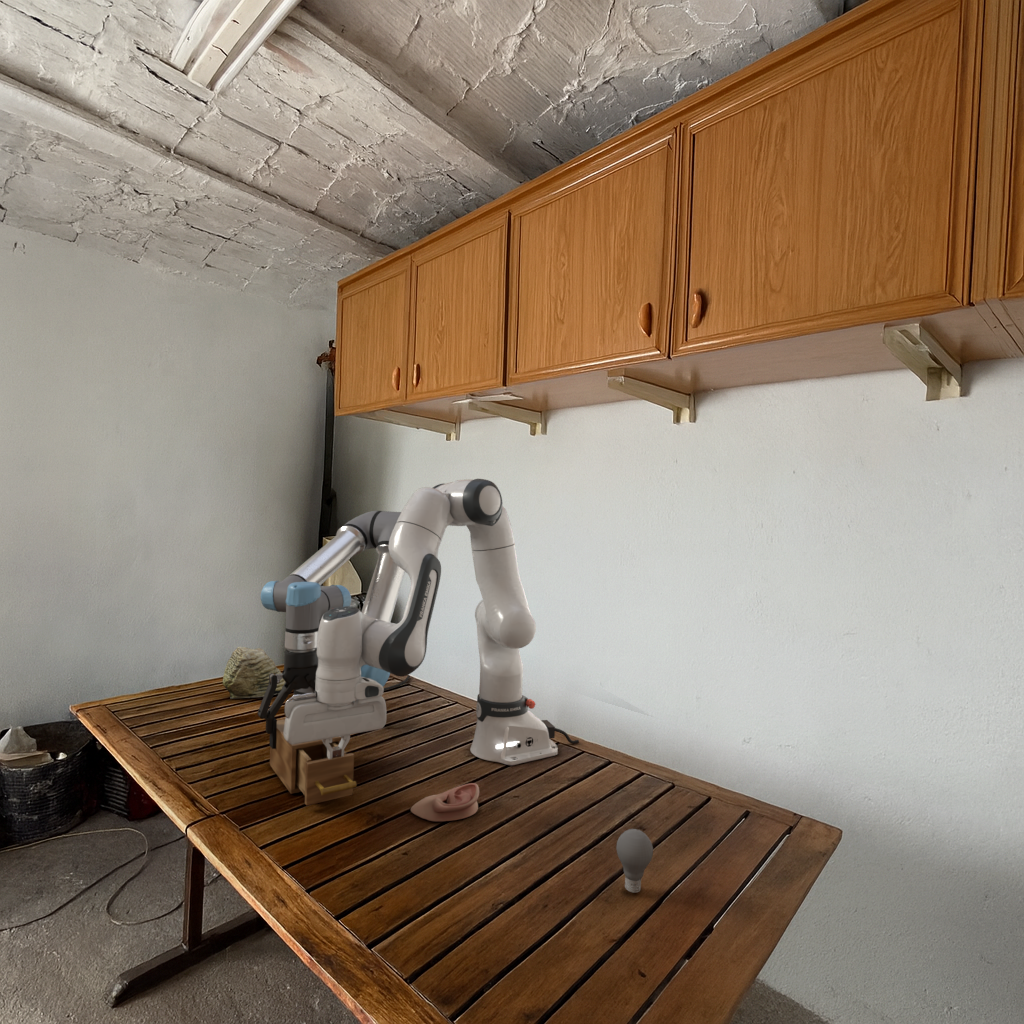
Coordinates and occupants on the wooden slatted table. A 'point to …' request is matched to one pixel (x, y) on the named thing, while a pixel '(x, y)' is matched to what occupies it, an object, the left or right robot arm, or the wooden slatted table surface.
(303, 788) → the drawer
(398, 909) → the wooden slatted table surface
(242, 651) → the fossil
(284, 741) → the cabinet
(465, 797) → the anatomical model
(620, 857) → the light bulb
